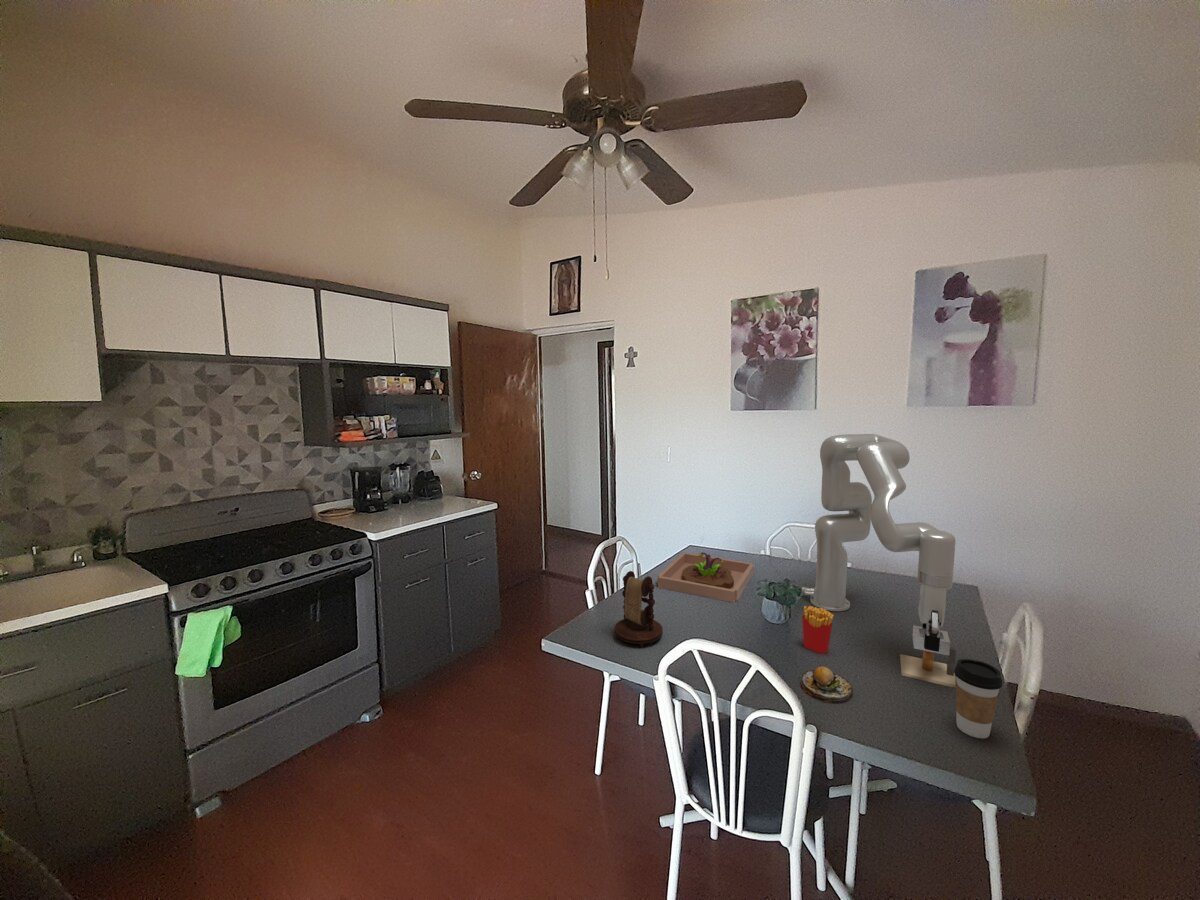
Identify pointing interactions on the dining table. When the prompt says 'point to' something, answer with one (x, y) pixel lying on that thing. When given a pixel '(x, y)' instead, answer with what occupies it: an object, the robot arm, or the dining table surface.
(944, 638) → the link
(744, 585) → the plant saucer
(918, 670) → the keeper
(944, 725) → the dining table surface
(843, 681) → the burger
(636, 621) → the scroll
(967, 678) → the coffee cup
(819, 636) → the french fries
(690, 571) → the plant
